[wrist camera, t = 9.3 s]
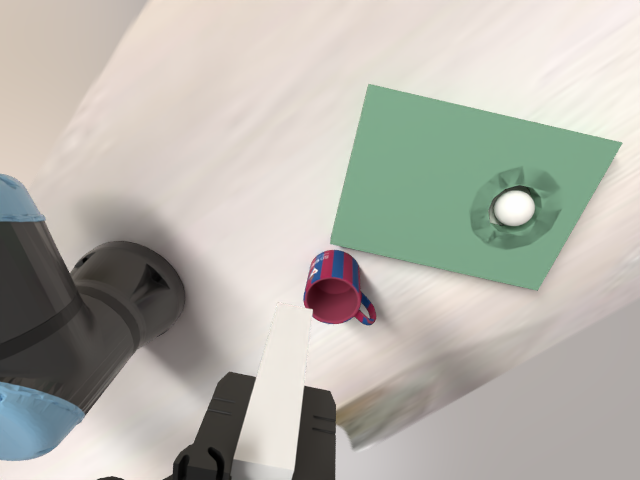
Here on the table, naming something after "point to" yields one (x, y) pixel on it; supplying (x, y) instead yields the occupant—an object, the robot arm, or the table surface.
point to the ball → (514, 208)
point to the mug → (336, 289)
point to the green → (463, 186)
